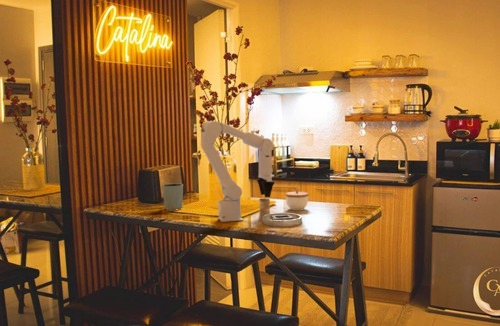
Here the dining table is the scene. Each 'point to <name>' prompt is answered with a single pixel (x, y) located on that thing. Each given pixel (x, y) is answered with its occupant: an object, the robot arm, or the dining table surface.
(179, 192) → the grey green cup
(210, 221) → the dining table surface
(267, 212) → the wood wick
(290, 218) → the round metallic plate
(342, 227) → the dining table surface
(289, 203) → the lidded jar
